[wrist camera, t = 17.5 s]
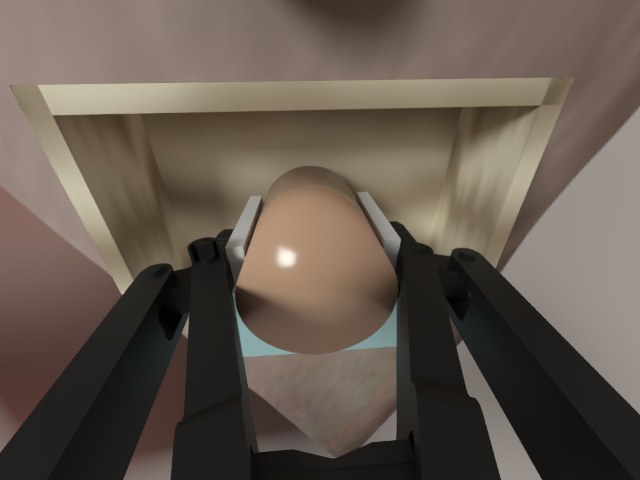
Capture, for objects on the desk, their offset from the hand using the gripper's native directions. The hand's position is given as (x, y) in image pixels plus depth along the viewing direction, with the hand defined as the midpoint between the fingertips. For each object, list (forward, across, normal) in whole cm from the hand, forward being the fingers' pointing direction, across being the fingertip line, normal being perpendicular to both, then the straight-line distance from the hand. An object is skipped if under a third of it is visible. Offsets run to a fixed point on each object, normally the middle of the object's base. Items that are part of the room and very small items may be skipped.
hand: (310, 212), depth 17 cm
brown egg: (0, 0, 0) cm, 0 cm away
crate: (+5, 0, 0) cm, 5 cm away
